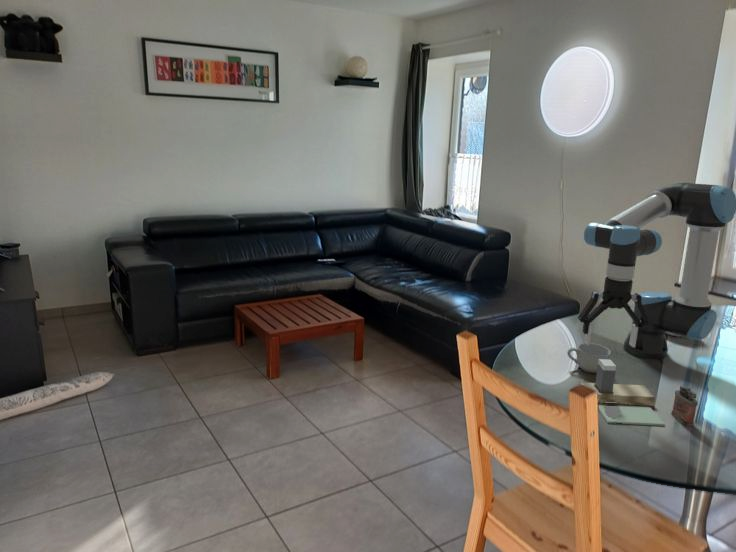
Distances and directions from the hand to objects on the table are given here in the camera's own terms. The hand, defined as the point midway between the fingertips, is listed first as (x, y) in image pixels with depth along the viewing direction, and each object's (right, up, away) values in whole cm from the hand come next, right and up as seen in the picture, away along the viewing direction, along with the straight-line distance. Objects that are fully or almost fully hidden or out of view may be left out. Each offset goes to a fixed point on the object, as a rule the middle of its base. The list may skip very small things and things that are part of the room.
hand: (609, 344), depth 168 cm
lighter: (+18, -21, -8) cm, 29 cm away
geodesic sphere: (+54, -4, +61) cm, 81 cm away
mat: (+3, -20, -6) cm, 21 cm away
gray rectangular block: (0, -17, +5) cm, 18 cm away
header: (+4, -17, +5) cm, 18 cm away
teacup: (+3, -12, +26) cm, 29 cm away
